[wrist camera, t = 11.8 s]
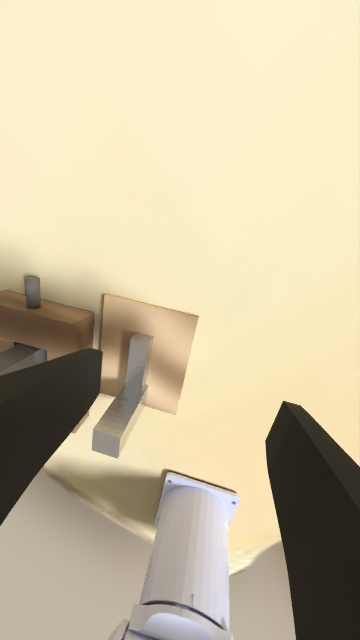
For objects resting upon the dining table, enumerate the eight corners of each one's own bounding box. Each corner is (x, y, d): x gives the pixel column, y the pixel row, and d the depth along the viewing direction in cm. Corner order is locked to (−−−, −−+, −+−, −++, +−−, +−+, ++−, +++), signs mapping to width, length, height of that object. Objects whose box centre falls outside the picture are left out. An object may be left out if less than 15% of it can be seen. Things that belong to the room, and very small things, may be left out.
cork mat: (176, 411, 22) (175, 414, 21) (100, 388, 22) (97, 391, 22) (198, 316, 18) (198, 317, 18) (107, 293, 19) (104, 295, 18)
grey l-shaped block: (145, 402, 21) (117, 458, 16) (126, 396, 21) (91, 449, 16) (156, 337, 19) (128, 376, 13) (134, 331, 19) (96, 367, 13)
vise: (88, 415, 24) (47, 468, 18) (16, 393, 25) (-43, 436, 19) (95, 286, 19) (41, 304, 13) (4, 264, 20) (-82, 273, 14)
